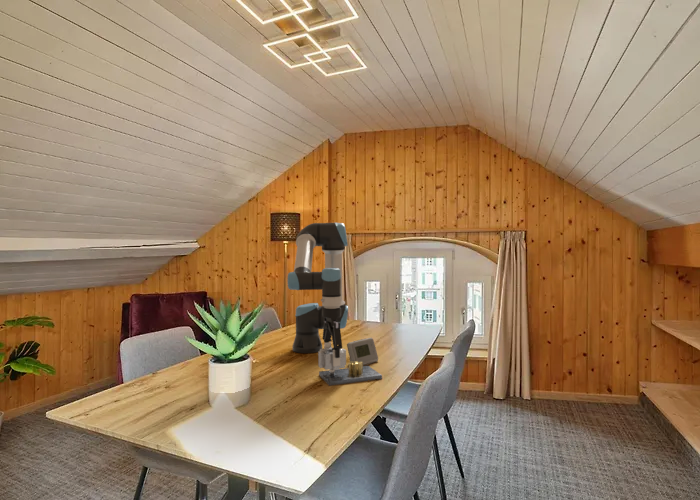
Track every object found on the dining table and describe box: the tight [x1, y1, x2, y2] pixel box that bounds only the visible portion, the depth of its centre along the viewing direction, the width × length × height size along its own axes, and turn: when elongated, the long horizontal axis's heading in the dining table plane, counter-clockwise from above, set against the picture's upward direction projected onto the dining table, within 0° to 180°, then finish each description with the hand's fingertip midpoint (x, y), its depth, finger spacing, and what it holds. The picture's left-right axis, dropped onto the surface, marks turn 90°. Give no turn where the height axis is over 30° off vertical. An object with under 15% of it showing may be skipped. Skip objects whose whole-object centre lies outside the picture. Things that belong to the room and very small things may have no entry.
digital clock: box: [346, 337, 379, 366], centre depth 192 cm, size 16×9×11 cm, turn 122°
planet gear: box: [317, 346, 347, 371], centre depth 170 cm, size 11×11×6 cm
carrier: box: [318, 360, 383, 386], centre depth 173 cm, size 14×22×6 cm, turn 110°
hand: (332, 361), depth 170 cm, fingers closed on planet gear, 11 cm apart
